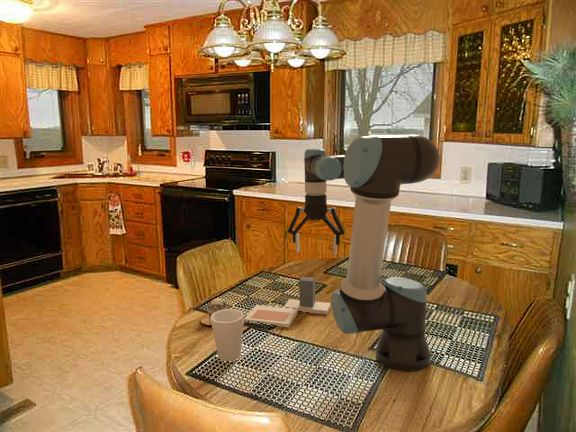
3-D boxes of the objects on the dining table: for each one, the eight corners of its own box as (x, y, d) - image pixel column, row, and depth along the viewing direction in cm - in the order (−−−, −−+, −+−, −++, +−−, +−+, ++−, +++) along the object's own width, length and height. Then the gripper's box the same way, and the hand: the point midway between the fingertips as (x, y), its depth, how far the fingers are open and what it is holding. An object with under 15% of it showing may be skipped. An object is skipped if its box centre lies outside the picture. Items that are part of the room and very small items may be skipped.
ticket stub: (327, 314, 155) (327, 284, 152) (284, 310, 159) (283, 280, 157) (330, 306, 161) (330, 277, 159) (289, 302, 166) (288, 274, 163)
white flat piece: (288, 328, 145) (288, 323, 145) (244, 323, 149) (243, 318, 149) (298, 312, 157) (298, 308, 157) (256, 308, 162) (256, 304, 161)
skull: (233, 326, 145) (211, 304, 144) (212, 344, 148) (191, 322, 147) (241, 310, 157) (221, 290, 156) (221, 326, 159) (201, 307, 158)
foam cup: (230, 345, 134) (228, 306, 131) (252, 355, 128) (250, 314, 126) (206, 358, 127) (203, 317, 124) (228, 369, 121) (226, 326, 118)
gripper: (352, 192, 152) (352, 251, 156) (283, 191, 158) (285, 248, 162) (350, 195, 145) (350, 257, 148) (278, 194, 151) (279, 253, 155)
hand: (316, 252), depth 155 cm, fingers open, 13 cm apart
